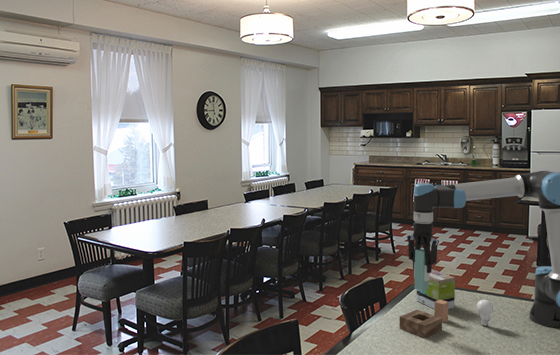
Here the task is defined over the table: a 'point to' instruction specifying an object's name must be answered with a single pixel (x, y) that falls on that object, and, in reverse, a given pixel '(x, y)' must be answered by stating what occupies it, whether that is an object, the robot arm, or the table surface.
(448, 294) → the tea box
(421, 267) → the long peg
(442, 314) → the short peg
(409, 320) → the socket block
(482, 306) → the lightbulb
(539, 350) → the table surface
